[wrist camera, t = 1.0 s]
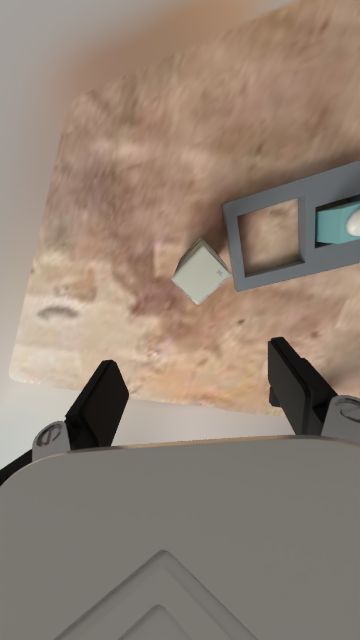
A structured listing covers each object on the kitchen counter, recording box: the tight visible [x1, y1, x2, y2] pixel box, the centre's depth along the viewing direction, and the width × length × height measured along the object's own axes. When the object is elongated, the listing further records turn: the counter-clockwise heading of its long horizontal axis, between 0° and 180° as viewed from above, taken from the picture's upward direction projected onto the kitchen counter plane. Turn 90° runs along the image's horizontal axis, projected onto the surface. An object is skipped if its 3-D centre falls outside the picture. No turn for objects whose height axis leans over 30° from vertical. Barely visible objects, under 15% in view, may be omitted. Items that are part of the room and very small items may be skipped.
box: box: [172, 238, 232, 305], centre depth 26 cm, size 5×4×13 cm
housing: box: [222, 160, 360, 292], centre depth 28 cm, size 18×13×2 cm
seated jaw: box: [315, 201, 360, 244], centre depth 25 cm, size 4×4×7 cm
